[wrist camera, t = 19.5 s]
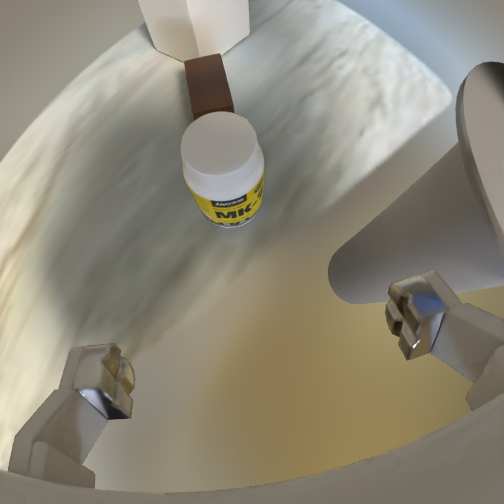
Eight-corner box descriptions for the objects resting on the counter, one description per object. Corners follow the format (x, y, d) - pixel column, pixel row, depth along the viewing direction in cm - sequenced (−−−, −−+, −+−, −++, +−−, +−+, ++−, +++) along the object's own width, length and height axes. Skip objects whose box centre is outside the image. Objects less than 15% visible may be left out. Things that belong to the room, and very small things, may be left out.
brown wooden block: (192, 89, 26) (184, 60, 22) (224, 82, 26) (220, 52, 22) (201, 141, 24) (192, 114, 21) (237, 133, 24) (233, 104, 21)
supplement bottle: (220, 241, 23) (199, 202, 15) (188, 191, 24) (156, 134, 15) (276, 206, 23) (283, 151, 15) (241, 159, 24) (233, 92, 16)
